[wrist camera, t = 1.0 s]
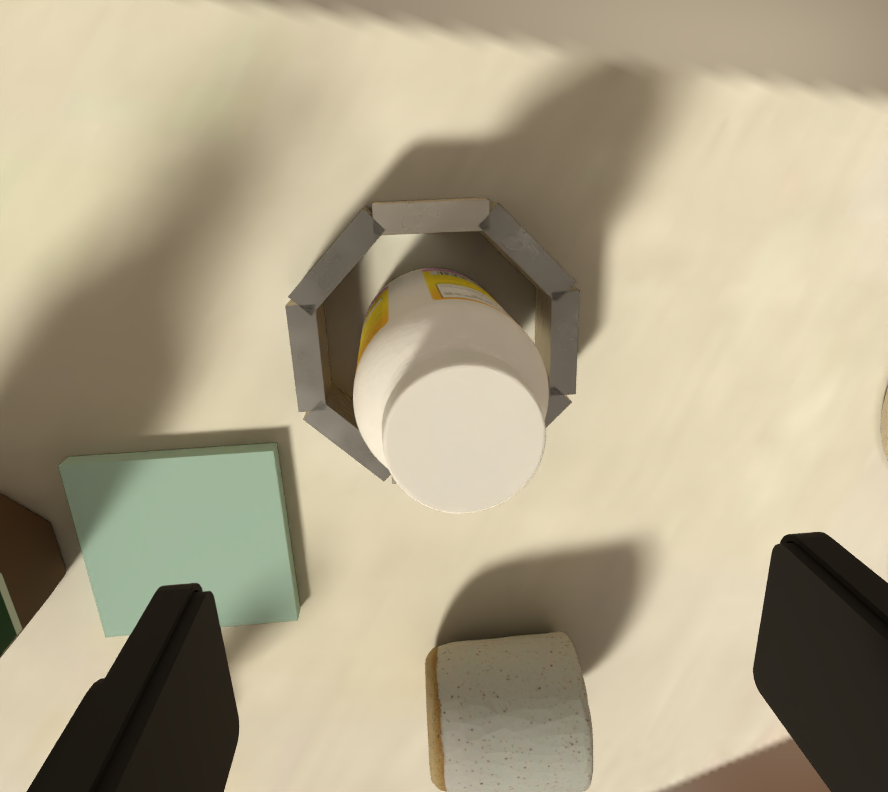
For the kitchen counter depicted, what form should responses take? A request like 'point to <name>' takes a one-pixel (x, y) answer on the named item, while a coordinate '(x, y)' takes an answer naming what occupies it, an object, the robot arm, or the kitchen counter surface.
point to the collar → (306, 307)
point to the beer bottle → (24, 568)
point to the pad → (184, 531)
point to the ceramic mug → (508, 716)
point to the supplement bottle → (450, 392)
